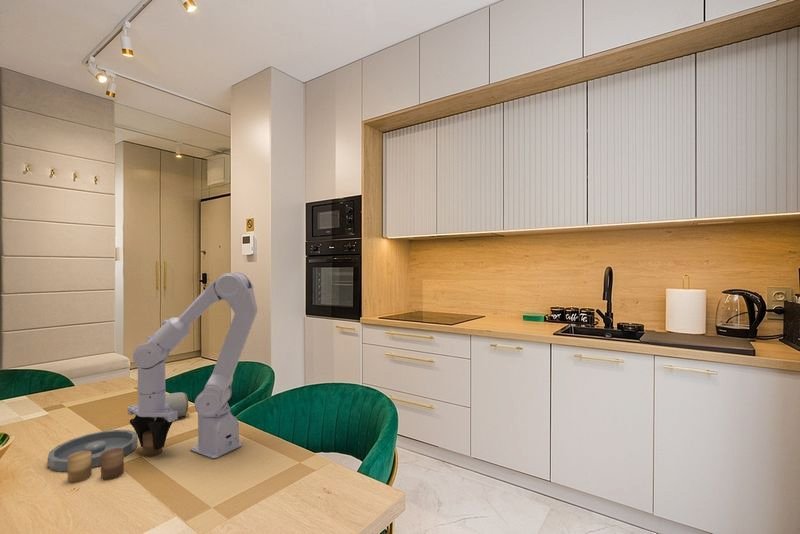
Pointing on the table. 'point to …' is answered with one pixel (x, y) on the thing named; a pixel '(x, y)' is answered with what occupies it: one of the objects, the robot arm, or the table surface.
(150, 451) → the bead
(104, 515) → the table surface
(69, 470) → the bead
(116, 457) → the bead
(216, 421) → the robot arm
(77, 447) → the tray
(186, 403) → the ceramic mug
